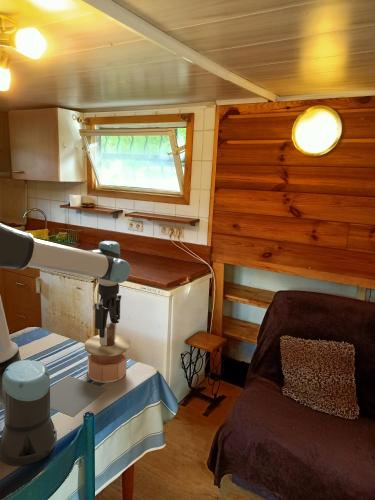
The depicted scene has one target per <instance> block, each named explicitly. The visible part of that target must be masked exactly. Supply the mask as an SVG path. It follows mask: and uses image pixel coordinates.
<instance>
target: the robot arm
mask: <svg viewBox="0 0 375 500" xmlns="http://www.w3.org/2000/svg"><path fill="white" fill-rule="evenodd" d="M27 267H28V268H33V269H41V270H46V271H52V272H57V273H64V274H69V275H74V276H75V275H76V276H82V277H88V278H94V279H98V281H97V282H98V284H97V285H98V286H97V288H98V291H97V292H98V294H99V297H100V298H99V302H98V303H96V302H95V303H94V307H95V308H94V309H95V317H94V318H95V329H96V330H99V334H98V335H99V337H100V344H101V345H104V346H106V345H107V329H106V324H113V325H115V340H116V333H117V324H119V323H120V319H121V300H122V295H120V294H119V293H120V284H123V283H125V282H126V281H127V280H128V278H129V277H130V274H131V266H130V264H129V262H128V261H127V260H125V259H122V258H121V247H120V243H119V242H117V241H113V240H104V241H100V242H99V243H98V248H94V249H90V250H89V249H88V250H84V249H80V248H77V247H72V246H68V245H63V244H59V243H55V242H52V241H47V240H43V239H40V238H35V237H34V236H33V234H31V233H30V232H27V231H24V230H20V229H17V228H14V227H12V226H9V225H6V224H4V223H2V222H0V268H4V269H5V268H6V269H13V270H14V269H15V270H24V269H25V268H27ZM3 305H4V304H3V301H2V296H1V295H0V405H2V408H3V415H4V416H3V417H4V419H3V420H4V426H3V429H2V430H1V431H2V433H1V436H0V460H1V461H2V462H4V463H5V464H8V465H11V466H27V465H31V464H34V463H37V462H39V461H41V460H43V459H44V458H46V457H48V456H49V455H50V454H51V453H52V451H53V449H54V448H56V447H55V446H57V445H56V444H57V441H58V433H57V432H58V431H57V429H56V427H55V424H54V422H53V420H52V417H51V408H50V387H51V384H52V383H51V382H52V381H51V376H50V370H49V368H48V367H47V365H45V364H44V363H43V362H42V361H38V360H35V359H34V360H31V359H21V353H20V350H19V345H18V344H17V343H16V342H14V341H12V340H11V336H10V332H9V327H8V323H7V319H6V313H5V309H4V306H3ZM108 317H109V320H110V321H109V323H107V321H108Z"/></svg>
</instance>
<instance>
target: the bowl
mask: <svg viewBox="0 0 375 500" xmlns="http://www.w3.org/2000/svg"><path fill="white" fill-rule="evenodd" d="M127 360H128V358H127V356H126V352H124V353H122V354H120V355H116V356H108V357H103V356H96V355H92V354H90V353H89V354H87V369H86V370H87V375H88V377H89V379H90V380H92V381H94V382H96V383H103V384H104V383H106V384H107V383H113V382H116V381H119V380H121V379H122V378H124V376H125V374H126V373H127Z"/></svg>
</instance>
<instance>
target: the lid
mask: <svg viewBox="0 0 375 500" xmlns="http://www.w3.org/2000/svg"><path fill="white" fill-rule="evenodd" d="M106 329H107V345H106V346H104V345H101V344H100V337H99V334H97V335H93V336H91V337H89V338H88V339H87V340H86V341H85V343H84V351H86V352H87V353H89V354H92V355H96V356H103V357H108V356H116V355H120V354H122V353H126V352H127V351H128V350H130V348H131V341H130V340H129V338H128V337H126V336H124V335H121V334H118V333H117V334H116V340H115V325H113V324H109V323H106Z"/></svg>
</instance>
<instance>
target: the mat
mask: <svg viewBox="0 0 375 500" xmlns="http://www.w3.org/2000/svg"><path fill="white" fill-rule="evenodd" d="M106 391H108V388H105V387H103V386H100V385H97V384H94V383H91V382H88V381H85V380H83V379H79V378H76V377H73V376H70V375H67V376H65V377H64V378H63V379H61V380H59V381H58V382H56V383H55V384H53V385H52V386H50V410H54V411H56V412H59V413H60V414H61V413H62V414H64V415H67V416H70V417H71V418H75V416H77V415H78V414H79V413H81V412H82V411H83V410H84V409H85V408H87V407H88V406H89V405H91V404H92V403H93V402H94V401H95V400H97V399H98V398H99V397H100V396H102V395H103V394H104V393H105V392H106Z"/></svg>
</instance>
